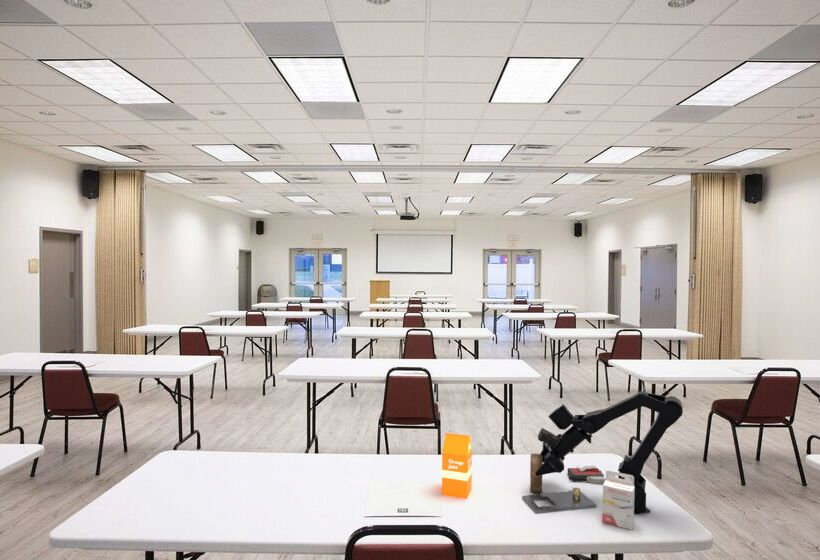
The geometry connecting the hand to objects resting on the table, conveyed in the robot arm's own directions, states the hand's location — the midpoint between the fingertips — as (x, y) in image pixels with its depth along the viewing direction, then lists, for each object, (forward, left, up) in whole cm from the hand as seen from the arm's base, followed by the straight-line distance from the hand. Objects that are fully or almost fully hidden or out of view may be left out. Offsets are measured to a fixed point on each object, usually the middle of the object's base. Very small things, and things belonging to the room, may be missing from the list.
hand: (535, 469), depth 167 cm
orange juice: (+5, +27, -8) cm, 28 cm away
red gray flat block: (+5, -26, -8) cm, 28 cm away
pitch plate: (-9, -4, -8) cm, 13 cm away
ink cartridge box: (-24, -15, -8) cm, 30 cm away
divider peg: (0, 0, -8) cm, 8 cm away
